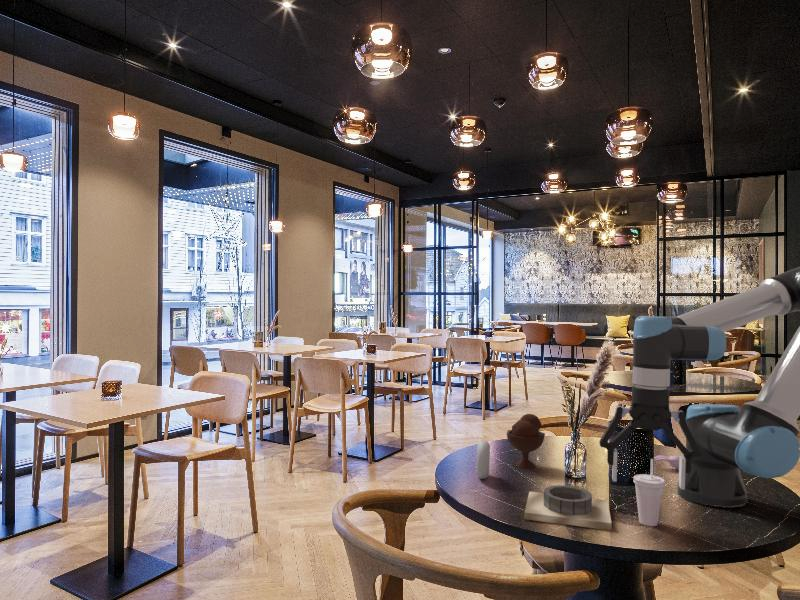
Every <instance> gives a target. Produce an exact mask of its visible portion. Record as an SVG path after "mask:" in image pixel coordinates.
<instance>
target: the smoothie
mask: <svg viewBox="0 0 800 600" xmlns="http://www.w3.org/2000/svg"><path fill="white" fill-rule="evenodd" d="M654 461H655V459H653V458H650V473H649V474H647V473H646V474H645V473H643V474H641V473H640V474H635V475H634V476H633V479H632V480H633V483H634V485H635V494H636V496H635V497H636V505H637V514H638V523H640V524H642V525H644V526H647V527H655V526H658V523H659V519H660V518H659V517H660V512H661V511H660V510H661V504H662V496H663V492H664V491H663V490H664V487H665V486H666V480H665V479H664V478H662V477H661V476H657V475H654Z"/></svg>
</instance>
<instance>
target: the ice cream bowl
mask: <svg viewBox="0 0 800 600" xmlns="http://www.w3.org/2000/svg"><path fill="white" fill-rule="evenodd" d="M541 427H542V422H541V420H540V418H539V417H538V416H537V415H536V414H533V413H526V414H524V415H522V416H521V418H520V419H519V420H517V421H515V423H514V424H513V425H512V426H511V429H508V430H507V432H506V436H507V440H508V443H509V444H510V445H511V446H512V447H513V448H515V449H516V450H518V451H519V452H521V454H522V455H521V456H522V457H521V458H522V459H520V460H518V461H517V462H516V464H515V466H516V467H517V468H520V469H529V470H530V469H534V468H535V467H536V464H535V463H533V461H531V460H529V454H530V453H532V452H534V451H536V450H538V449H539V448H540V447H541V446H542V445H543V443H544V440H545V437H546V433H544V432H542V431H541V430H540V428H541Z"/></svg>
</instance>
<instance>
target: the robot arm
mask: <svg viewBox="0 0 800 600" xmlns="http://www.w3.org/2000/svg"><path fill="white" fill-rule="evenodd" d="M794 312H800V266H798V267H796V268H792V269H790V270H787V271H784V272H782V273H781V272H780V273H779V274H776V275H774V276H772V277H771V276H770V277H769V278H766V279H764V280H762V281H761V282H760V284H759V286H756V287H753V288H751V289H748V290H745V291H743V292H739V293H736V294H735V295H732V296H728V297H726V298H723V299H721V300H718V301H715V302H712V303H710V304H709V303H708V304H707V305H704V306H701V307H699V308H696V309H693V310H690V311H687V312H685V313H682V314H680V315H677V316H675V317H672V318H671V317H669V316H655V315H654V316H653V315H640V316H636V318H635V320H634V325H633V334H632V338H633V339H632V340H633V345H632V346H633V349H632V350H633V351H632V379H631V380H632V381H631V382H632V384H634V385H633V386H632V388H631V401H630V403H631V405H630V407H624V406H622V405H620V404H618V405H616V407H615V412H614V415H613V417H612V419H611V421H609V422H610V423H609V424H608V426H607V428H606V430H605V431H604V432H603V434H602V436H601V438H600V439H599V441H598V442H599V446H600V447H601V448H604V449H606V450H607V455H606V456H607V459H606V460H607V464H608V466H612V467H611V468H612V469H611V470H612V473H611V480H612V482H617V479H618V477H617V476H618V475H617V474H618V449H617V447H619V445H621V444H622V443H623V442H624V441H625V440H626V439H627V438H628V437H629V436H630V435H631V434H632V433H633V432H634V431H636V430H637V429H638V428H640V429H641V430H651V431H656V432H658V431H659V430H661V429H662V431H663V432H664V433H665V435H667V436H668V438H669V439H670V440H671V441H672V443H673V444H674V445H675V447H676V448H678V450H679V451H680V452H681V453H682V454H683V455H679V457H680V458H679V470H678V480H677V481H678V482H677V488H676V489H677V490H676V491H677V494H678V495H679V496H680V497H682V498H683V499H685V500H687V501H689V502H692V501H693V502H692V503H695V502H697V503H696V504H698V503H701V504H700V505H702V504H708V505H721V506H735V505H740V504H744V503H746V502H747V503H748V492H747V489H746V485H745V482H744V480H743V476H742V475H741V471H740V470H742V471H743V472H744V473H746V474H749V475H752V476H757V477H759V478H762V479H775V478H780V477H784V476H785V475H787V474H789V473H790V472H791V471H793V469H794V468H795V467H796V466H797V464H798V462H799V460H800V441H799V439H798V435H799V433H800V427H799V425H798V424H797V420H798V418H799V417H800V325H799V327H798V328H797V330H795V331H796V332H795V333H794V335H792V338H791V340H790V342H789V343H788V344H787V346H786V348H785V349H784V351H783V352H782V354H781V356H780V358H779V359H778V361H777V363H776V365H775V366H774V368H773V370H772V371H771V373H770V375H769V376H768V378H767V380H766V381H765V383H764V385H763V386H762V388H761V389H760V390H759V393H758V395H757V396H756V398H755V400H753V401H748V402H747V401H746V402H744V403H743V404H742V406H741V407H740V406H739V405H735V404H734V405H733V404H719V403H718V404H715V403H713V404H712V403H699V404H698V403H697V404H690V405H689V406H688V407H687V409H686V413H685V412H684V411H683V410H682V409H681V410H680V409H678V410H677V411H676V410H675V411H671V409H670V390H669V389H668V388H669V387H670V386H671V384H670V383H671V364H672V363H671V361H677V360H678V361H679V360H681V361H702V362H703V361H704V362H707V361H716V360H719V359H721V358H722V357H723V356H724V354H725V353H726V349H727V346H726V345H727V338H726V335H725V334H724V333H726V332H728V331H732V330H734V329H736V328H740V327H742V326H745V325H747V324H751V323H753V322H756V321H759V320H761V319H764V318H767V317H771V316H772V315H775V316H785V315H787V314H791V313H794ZM627 414H629V416H630V417H631V418H632V419H631V421H630V422H628V424H627V425H626V426H625V427H624V428H622V430H621V431H619V433H618V434H617V435H615V437H614V438H613V439H611V437H612V436H613V434H614V432H615V430H616V429H617V427H618V425H619V424H620V423H621V420H622V418H625V417H626V415H627ZM671 418H673V420H674V421H675V422H677V423H678V425H679V427H680V429H681V431H682V433H683V434H684V437H685V445H684V444H683V443H682V442H681V440H680V438H678V437H677V435H676V434H675V433H674V431H672V429H671V428H670V427H669V426H668V425H667V422H668V421H669V420H670V419H671ZM610 439H611V441H610ZM609 441H610V442H609Z"/></svg>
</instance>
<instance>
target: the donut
mask: <svg viewBox="0 0 800 600" xmlns="http://www.w3.org/2000/svg"><path fill="white" fill-rule="evenodd" d="M476 448H477V449H476V469H475V470H476V475H477V477H478V478H479V479H480V480H485V479H487V478H488V477H489V475H490V460H491V459H490V453H491V452H490V451H491V449H490V448H491V445H490V443H489V442H488V441H487V440H481V441H479V442H478V443H477V447H476Z"/></svg>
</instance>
